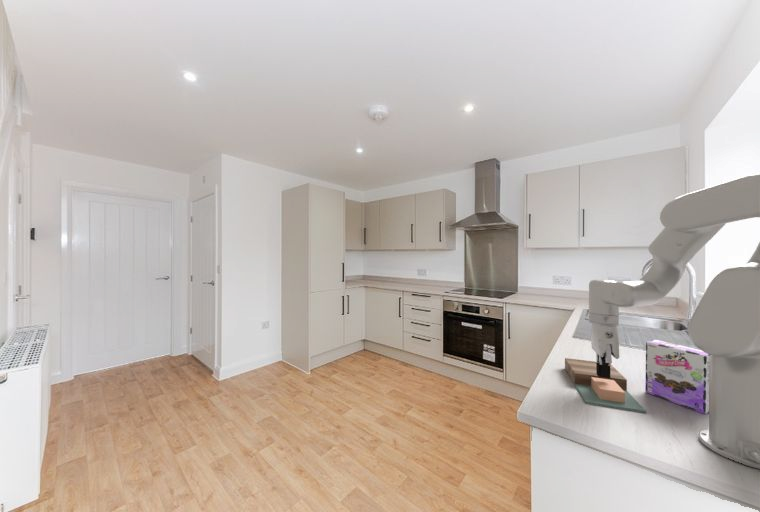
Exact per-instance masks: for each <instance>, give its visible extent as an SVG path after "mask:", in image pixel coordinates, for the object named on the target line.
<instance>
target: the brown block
mask: <svg viewBox="0 0 760 512" xmlns="http://www.w3.org/2000/svg"><path fill="white" fill-rule="evenodd" d="M596 363H599V362H597V361H592V360H584V359H576V358H568V357H567V358H566V357H565V358H564V369H565V371H566V373H567V372H568V373H567V375H568V376H569V378H570V380H571V381H572V383H573V384H574V385H575V384H581V385H588V386H591V377H594V378H602V379H609V380H614V381H615V382H616V383H617V384H618V385H619V386H620V387H621V389H622V390H623V391H628V387H627V386H628V385H627V384H628V380H627V378H625V376H624V375H623V374H622V373H621V372H619V371H618V370H617V369H616V367H614V366H613V365H612V364H611V366H610V378H603V377H598V375H597V374H596Z"/></svg>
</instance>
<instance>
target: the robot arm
mask: <svg viewBox="0 0 760 512" xmlns="http://www.w3.org/2000/svg"><path fill="white" fill-rule="evenodd" d="M659 214H660V215H659V220H660V223H661V225H662V226H663V227H664V228H663V229H662V230H661V231H660V232H659V233H658V235H657V236H656V237H655V239H654V240H653V241H651V242H650V244H649V245H648V249H647V250H648V252H649V254H650V255H651V256H652V264H651V266H650V267H649V269H648V270H647V271H646V272H645V274H644V275H642V277H641V278H640V279H639V280H629V281H616V280H612V279H611V280H610V279H592V280H590V282H589V283H588V322H589V323H590V324H591V332H590V333H591V334H590V337H591V338H590V339H591V340H590V343H591V349H592V350H593V352H595V357H596V361H595V362H599V363H596V374H597V375H598V377H603V378H610V366H611V365H612V363H613V360H612V358H614V359H616V360H618V359H620V342H619V339H620V338H619V332H618V331H619V330H618V326H619V325H620V321H619V320H620V319H619V317H620V316H619V315H620V308H629V309H631V308H638V307H649V306H653V305H655V304H657V303H659V302H660V301H662V300H663V299H664V298H665V297H666V296H667V295H668V294H669V293H670V292H672V290H673V289H674V288H675V287H676V286H677V285H678V283H680V281H681V279H682V277H683V275H684V272H685V270H686V266H687V264H688V263H689V262H690V261H691V260H692V259H693V258H694V257H695V256H696V255H697V254H698V253H699V252H700V250H701V249H702V248H703V247H704V246H705V245H707V244H708V242H709V241H711V240H712V239H713V238H714V237H715V236H716V234H718V232H719V231H721V230H722V229H723V228H724V226H725V225H726V224H728V223H733V222H738V221H744V220H748V219H753V218H760V173H755V174H749V175H745V176H741V177H737V178H735V179H732V180H728V181H725V182H722V183H719V184H716V185H712V186H709V187H705V188H702V189H700V190H696V191H693V192H690V193H686V194H683V195H680V196H678V197H675V198H674V199H672V200H670V201H669V202H667V203H666V204H665V205H664V207H663V208H662V210H661V211H660V213H659ZM687 332H688V333H687V334H688V337H689V339H690V340H691V341H690V342H692V344H693V345H694V346H695V347H696V348H697V349H699V350H702V351H703V352H705V353H707V354H710V355H711V357H710V366H709V413H708V429H702V430H701V431H700V430H699V433H698V440H700V442H701V443H702V444H703V445H704V446H705V447H706V448H708V449H710V450H711V451H713V452H714V453H716V454H717V455H720V456H722V457H725V458H726V459H728V458H729V460H731V461H733V460H734V462H736V463H738V462H739V463H738V464H741V463H742V464H741V465H745V466H747V467H751V468H755V469H758V470H760V241H759V242H758V244H757V246H756V249H755V250H754V252H753V254H752V255H751V257H750V258H749V260H748V261H747V263H745V264H738V265H734V266H731V267H727V268H726V269H724V270H721V271H720V272H719V273H717V274H716V276H714V277H713V279H711V281H710V282H709V284H708V286H707V288H706V290H705V291H704V293H703V295H702V297H701V299H700V301H699V303H698V304H697V307H696V309H695V310H694V312H693V313H692V315H691V318H690V320H689V322H688V326H687Z"/></svg>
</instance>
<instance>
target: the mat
mask: <svg viewBox="0 0 760 512" xmlns="http://www.w3.org/2000/svg"><path fill="white" fill-rule="evenodd" d="M574 386H575V388H576V390H577V391H578V392H579V394H580V396H581V398H582V400H583V401H584V402H585V404H588V405H594V406H599V407H607V408H612V409H619V410H624V411H631V412H637V413H643V414H647V410H646V409H645V408H644V407H643V405H642V404H640V403H639V401H637V400H636V398H635V397H634V396H633V395H632V394H631V393H630V392H629V391H628V390H627V391H624V392H625V403H623V402H616V401H610V400H604V399H600V398H599V397H598V395H597V394H596V392H595V391H594V390H593V388H592V387H591V386H588V385H581V384H574Z"/></svg>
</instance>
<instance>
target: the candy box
mask: <svg viewBox="0 0 760 512" xmlns="http://www.w3.org/2000/svg"><path fill="white" fill-rule="evenodd" d="M710 357H711V355H710V354H707V353H705V352H703V351H702V350H700V349H699V348H693V347H689V346H685V345H681V344H675V343H671V342H667V341H663V340H659V339H651V340H648V341H646V342H645V393H647V394H650V395H652V396H655V397H657V398H660V399H662V400H666V401H669V402H670V403H673V404H676V405H679V406H680V407H684V408H687V409H690V410H691V411H692V410H693V411H695V412H698V413H701V414H703V415H706V414H709V366H710Z"/></svg>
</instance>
